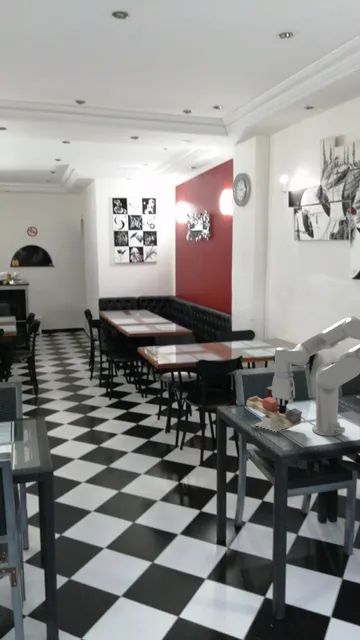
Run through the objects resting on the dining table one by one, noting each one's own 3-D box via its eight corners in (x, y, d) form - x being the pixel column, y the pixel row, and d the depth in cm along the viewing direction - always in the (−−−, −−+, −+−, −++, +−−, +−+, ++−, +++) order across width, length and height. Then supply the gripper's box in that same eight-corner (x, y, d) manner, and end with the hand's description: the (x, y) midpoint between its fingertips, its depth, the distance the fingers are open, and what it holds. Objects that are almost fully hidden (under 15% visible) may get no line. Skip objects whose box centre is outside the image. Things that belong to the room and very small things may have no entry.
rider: (276, 410, 243) (278, 400, 242) (270, 412, 240) (272, 403, 238) (268, 406, 246) (269, 396, 245) (261, 408, 243) (263, 399, 242)
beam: (301, 424, 236) (303, 410, 234) (289, 429, 230) (292, 415, 228) (256, 402, 254) (259, 389, 252) (245, 406, 247) (247, 393, 246)
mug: (278, 410, 267) (278, 391, 266) (263, 408, 270) (263, 390, 269) (283, 405, 276) (283, 386, 275) (269, 403, 280) (269, 385, 278)
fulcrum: (289, 426, 242) (290, 415, 241) (276, 432, 234) (276, 420, 234) (269, 420, 251) (269, 410, 250) (255, 426, 243) (255, 415, 242)
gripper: (301, 375, 232) (300, 414, 235) (274, 370, 243) (273, 408, 245) (292, 378, 227) (291, 418, 230) (264, 373, 238) (264, 411, 240)
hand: (282, 413), depth 237 cm, fingers closed
